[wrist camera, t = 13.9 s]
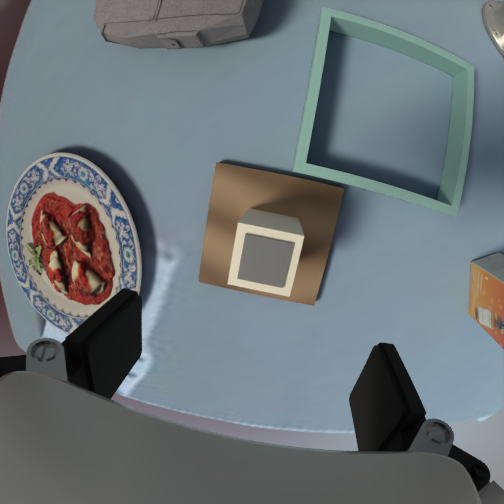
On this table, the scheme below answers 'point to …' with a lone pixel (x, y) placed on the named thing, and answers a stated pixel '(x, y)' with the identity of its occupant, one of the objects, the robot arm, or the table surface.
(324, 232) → the walnut board
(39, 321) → the table surface
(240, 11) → the small grey backpack
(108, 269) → the ceramic plate
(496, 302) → the small box
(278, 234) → the block
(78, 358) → the robot arm
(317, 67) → the bin
